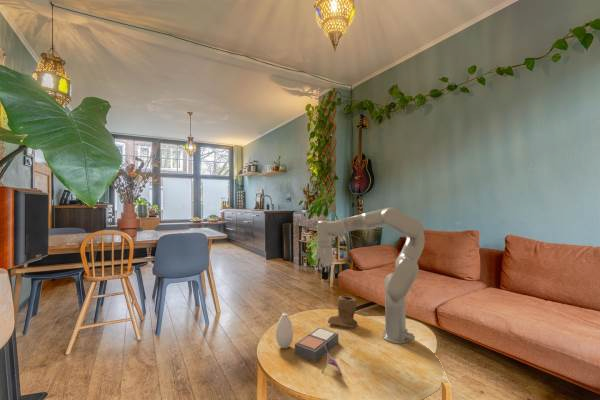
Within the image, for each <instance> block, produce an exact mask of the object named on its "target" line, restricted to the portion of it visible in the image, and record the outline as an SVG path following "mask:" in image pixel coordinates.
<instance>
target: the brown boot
mask: <svg viewBox="0 0 600 400" xmlns="http://www.w3.org/2000/svg"><path fill="white" fill-rule="evenodd" d="M357 304H358V303H357V299H356V298H354V297H352V296H349V295H348V296H346V295H340V296H338V298H337V303H336V305H337V312H338V315H332V316H330V317H329V318H328V320H327V324H331V325H335V326H340V327H345V328H352V329H353V328H356V327H357V325H358V321H357V320H355V319H354V317H355V313H356V310H357Z"/></svg>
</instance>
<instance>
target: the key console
mask: <svg viewBox="0 0 600 400" xmlns="http://www.w3.org/2000/svg"><path fill="white" fill-rule="evenodd" d="M318 329H323V330H326V331H329V332H332V333H335V335H333V336H332V337H331V338H330V339H328V340H327V341H325V340H322V339H319V338H316V337H313V336H311V334H313V333H314V332H315V331H317V330H318ZM308 336H310V337H313V338H316V339H319V340H322V341H324V343H323V344H324V345H325V346H324V345H323V344H322V345H321V346H320V347H318V348H317V349H316V350H313V349H310V348H307V347H305V346H302V345H299V343H300V342H301V341H303V340H304V339H305V338H307V337H308ZM338 344H339V333H337V332H335V331H334V332H333V331H332V330H329V329H328V330H327V329H325V328H322V327H318V328H316V329H314V330H313V331H312V332H310V333H309V334H308V335H306V336H305V337H303V338H301V339H300V340H299V341H297V342H296V343H295V344H294V355H296V356H298V357H300V358H303V359H305V360H308V361H310V362H313V363H315V364H316V363H318V361H320V359H322V358H323V357H324V356H325V355H326V354H327V353H329V352H330V351H332V349H334V348H335V347H336V346H337V345H338ZM325 347H326V348H327V349H326V348H325ZM327 350H328V351H327Z"/></svg>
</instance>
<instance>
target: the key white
mask: <svg viewBox="0 0 600 400" xmlns="http://www.w3.org/2000/svg"><path fill="white" fill-rule="evenodd" d="M317 329H318V328H317ZM323 329H324V328H322V329H318V330H317V331H315V330H314V331H315V332H314V333H313V334H311V336H313V337H316V338H319V339H322V340H325V341H327V340H328V339H330V338H331V337H332V336H333V335H335V333H336V332H335V333H332V332H333V331H332V332H329V331H330V330H328V331H326V330H327V329H325V330H323Z"/></svg>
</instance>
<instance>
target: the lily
mask: <svg viewBox="0 0 600 400" xmlns="http://www.w3.org/2000/svg"><path fill="white" fill-rule="evenodd" d="M323 345H324V344H323ZM324 346H325V345H324ZM325 348H326V347H325ZM326 349H327V348H326ZM327 351H328V350H327ZM326 354H327V359H326V360H327V361H326V364H325V365H324V367H323V369H322V372H321V374H323V373H324V371H325V368H326V367H327V365H331V366H333V367H335V368H336V369H338V371H339V372H340V373H341V375H343V373H342V371H341V368H340V366H339V364H338V362H337V361H336V358H337V357H336V356H331V354H330V353H329V352H328V353H326Z"/></svg>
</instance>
